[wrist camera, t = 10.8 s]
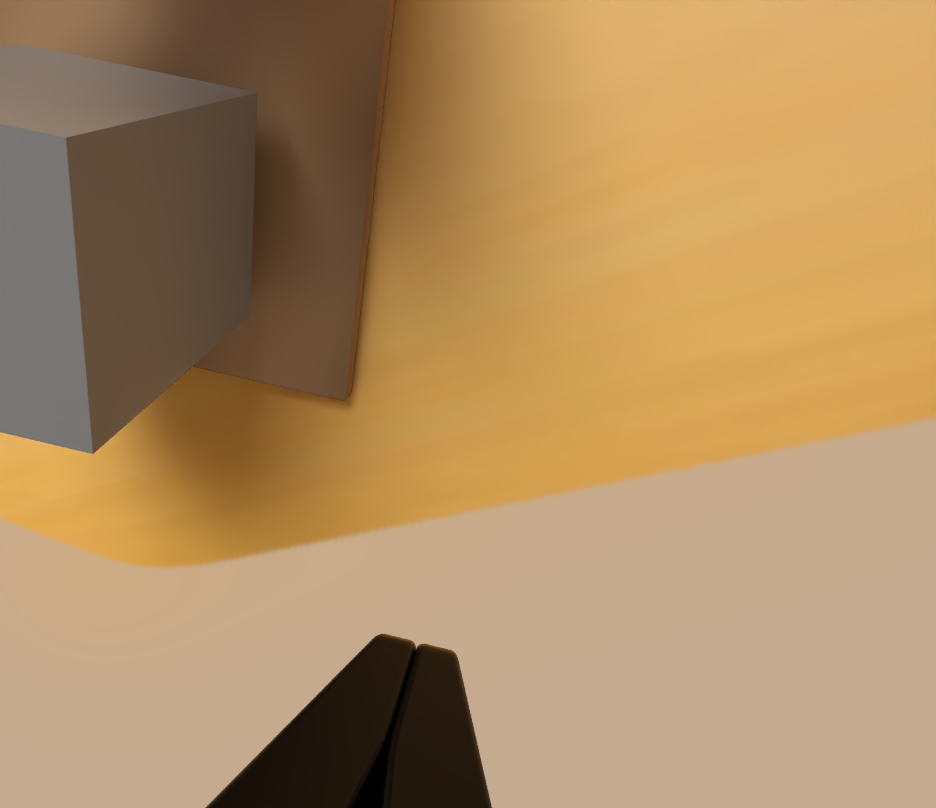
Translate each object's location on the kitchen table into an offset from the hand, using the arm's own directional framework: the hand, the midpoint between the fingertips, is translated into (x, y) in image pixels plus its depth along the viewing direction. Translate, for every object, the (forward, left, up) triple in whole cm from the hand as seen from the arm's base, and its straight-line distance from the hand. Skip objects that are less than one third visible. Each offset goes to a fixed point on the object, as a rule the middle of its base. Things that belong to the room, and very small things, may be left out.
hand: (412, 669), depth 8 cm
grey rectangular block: (+9, -1, -11) cm, 14 cm away
